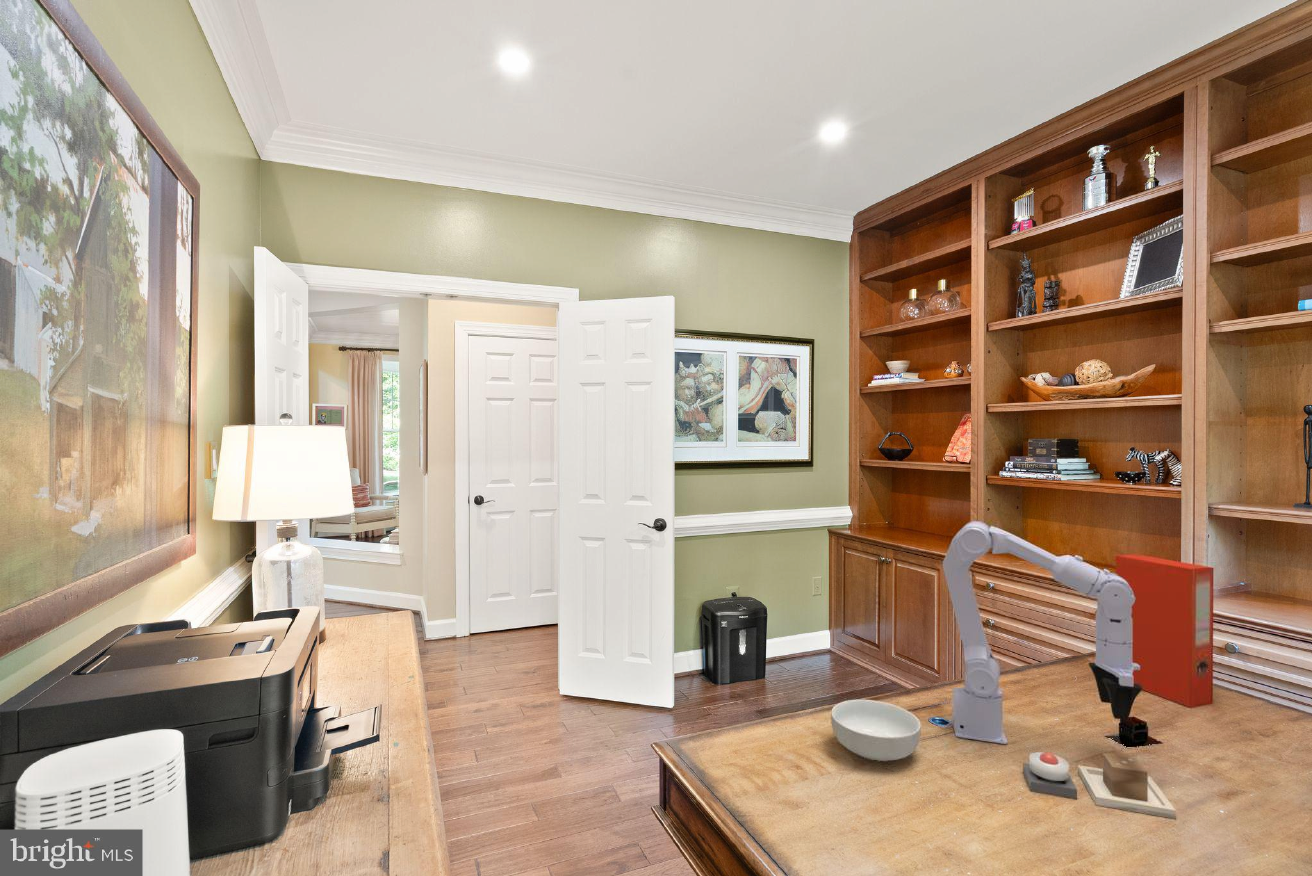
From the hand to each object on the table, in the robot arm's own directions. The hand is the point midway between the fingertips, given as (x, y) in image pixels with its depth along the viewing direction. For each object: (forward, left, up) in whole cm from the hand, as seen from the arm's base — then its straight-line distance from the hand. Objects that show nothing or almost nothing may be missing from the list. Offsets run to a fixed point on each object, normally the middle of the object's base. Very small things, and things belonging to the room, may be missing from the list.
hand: (1113, 710), depth 120 cm
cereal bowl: (-43, -12, -10) cm, 46 cm away
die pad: (-2, -13, -10) cm, 16 cm away
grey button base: (-14, -14, -10) cm, 22 cm away
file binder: (+22, +44, -10) cm, 50 cm away
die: (-2, -13, -9) cm, 16 cm away
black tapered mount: (+7, +12, -11) cm, 17 cm away
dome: (-14, -14, -9) cm, 21 cm away
